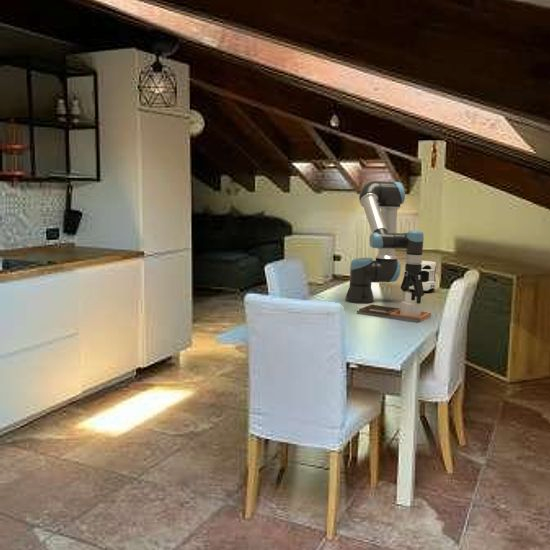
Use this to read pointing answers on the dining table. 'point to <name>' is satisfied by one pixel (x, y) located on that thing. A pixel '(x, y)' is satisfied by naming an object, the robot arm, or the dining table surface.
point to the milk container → (427, 276)
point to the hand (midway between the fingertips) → (410, 307)
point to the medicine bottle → (409, 305)
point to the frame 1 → (377, 307)
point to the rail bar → (388, 316)
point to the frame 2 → (423, 316)
